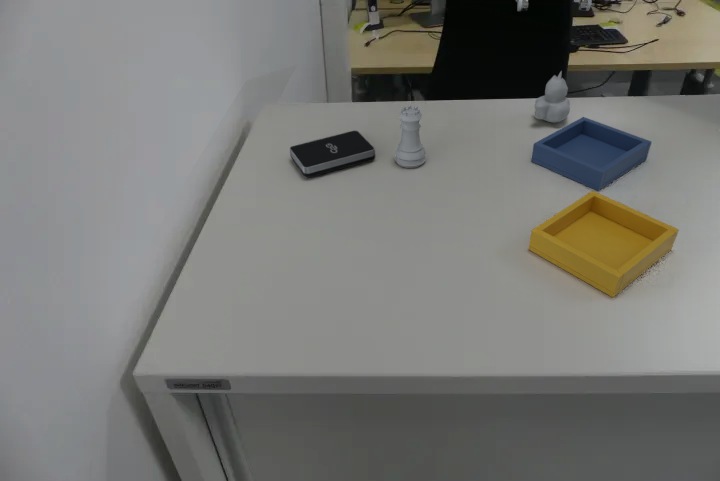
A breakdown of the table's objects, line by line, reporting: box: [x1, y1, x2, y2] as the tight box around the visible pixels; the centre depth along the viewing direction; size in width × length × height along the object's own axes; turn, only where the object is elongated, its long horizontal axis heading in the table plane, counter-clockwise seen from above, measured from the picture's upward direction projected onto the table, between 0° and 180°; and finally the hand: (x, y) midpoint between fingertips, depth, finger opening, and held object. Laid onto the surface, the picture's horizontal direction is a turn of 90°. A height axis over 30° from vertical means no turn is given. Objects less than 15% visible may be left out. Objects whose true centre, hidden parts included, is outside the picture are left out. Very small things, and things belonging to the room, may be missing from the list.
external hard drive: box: [289, 129, 376, 179], centre depth 81 cm, size 7×11×2 cm, turn 114°
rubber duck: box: [534, 70, 571, 124], centre depth 85 cm, size 5×7×8 cm
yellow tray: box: [528, 190, 680, 298], centre depth 62 cm, size 12×11×3 cm
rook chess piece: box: [394, 105, 427, 169], centre depth 78 cm, size 4×4×8 cm
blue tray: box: [530, 116, 653, 192], centre depth 77 cm, size 12×11×3 cm
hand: (553, 9), depth 88 cm, fingers open, 8 cm apart
